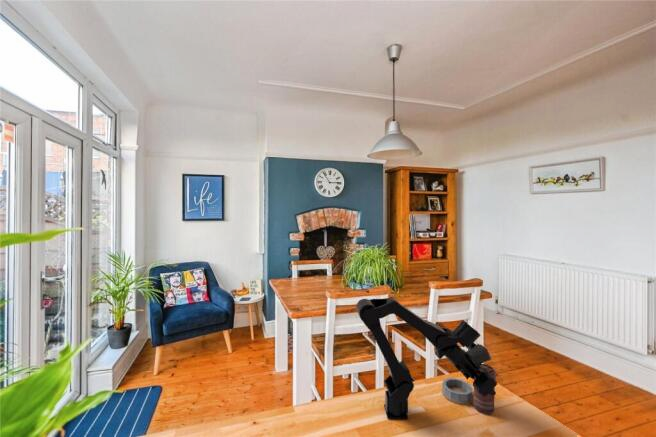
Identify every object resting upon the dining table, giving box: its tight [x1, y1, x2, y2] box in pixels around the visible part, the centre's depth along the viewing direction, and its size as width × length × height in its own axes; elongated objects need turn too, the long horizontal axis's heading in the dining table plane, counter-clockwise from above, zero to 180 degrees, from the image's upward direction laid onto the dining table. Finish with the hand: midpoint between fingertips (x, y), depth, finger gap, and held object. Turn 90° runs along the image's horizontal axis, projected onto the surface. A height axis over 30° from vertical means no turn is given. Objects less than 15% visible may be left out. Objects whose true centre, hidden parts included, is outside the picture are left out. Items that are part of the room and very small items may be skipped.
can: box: [473, 363, 497, 415], centre depth 99 cm, size 6×6×14 cm
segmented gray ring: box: [441, 377, 474, 406], centre depth 106 cm, size 10×10×4 cm
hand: (488, 387), depth 99 cm, fingers open, 6 cm apart
